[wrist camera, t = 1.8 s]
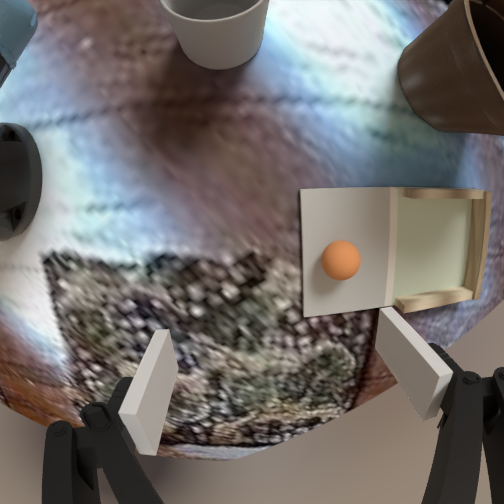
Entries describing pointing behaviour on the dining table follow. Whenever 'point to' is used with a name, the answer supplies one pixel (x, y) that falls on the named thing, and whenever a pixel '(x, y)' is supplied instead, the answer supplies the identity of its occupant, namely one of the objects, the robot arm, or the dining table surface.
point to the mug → (217, 29)
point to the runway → (381, 246)
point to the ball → (341, 260)
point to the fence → (475, 250)
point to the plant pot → (459, 69)
